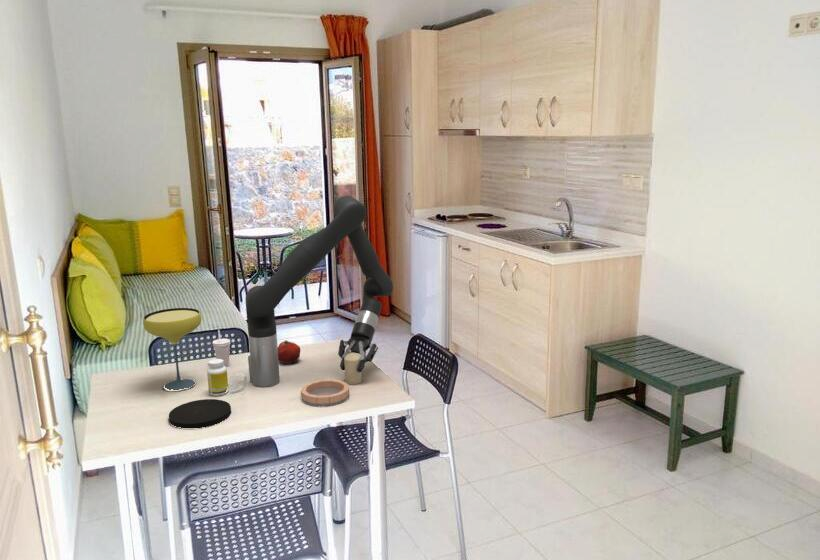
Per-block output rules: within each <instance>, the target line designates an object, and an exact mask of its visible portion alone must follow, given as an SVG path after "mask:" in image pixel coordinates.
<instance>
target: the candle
mask: <svg viewBox="0 0 820 560" xmlns="http://www.w3.org/2000/svg"><path fill="white" fill-rule="evenodd" d="M360 360H361V355H360V354H358V353H350V354H347V355H346V357H345V358H344V364H345V370H344V380H345V381H344V382H345V383H347V384H348V385H352V386H353V385H359V384H360V383H362V372H361V373H360V372H358V371H357V367H358V364H359V361H360Z"/></svg>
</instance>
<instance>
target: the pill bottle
mask: <svg viewBox="0 0 820 560" xmlns="http://www.w3.org/2000/svg"><path fill="white" fill-rule="evenodd" d="M223 365H224V360H223V359H217V358H213V359H210V360H209V361H208V368H207V371H206V376H207V384H208V393H209V395H211V396H212V395H213V397H219V396H220V395H221V396H224V395H226V394H225V392H226V390H227V387H228V388H229V380H228V369H227V368H228V367H225V366H223Z"/></svg>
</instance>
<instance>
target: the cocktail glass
mask: <svg viewBox="0 0 820 560" xmlns="http://www.w3.org/2000/svg"><path fill="white" fill-rule="evenodd" d="M201 322H202V315H201V312H200V310H198V309H196V308H193V307H192V308H191V307H190V308H189V307H175V308H174V307H173V308H166V309H160V310H156V311H152V312H150V313H147V314H146V315H144V317H143V318H142V325H143V329H144V330H145V331H146V332H147V333H148V334H151V335H152V336H154V337H155V336H156V337H159V338H162V339H165V340H167V342H170V344H172V345H173V346H174V356H175V357H174V358H175V366H176V368H175V369H176V379H175V381H174V380H171V381H172V382H171V381H168V382H169V383H168V382H167V384H166V383H165V384H166V385H165V388H167V389H169V390H171V389H173V390H179V389H184V388H189V387H191V386H193V385H194V384H195V382H196V381H195V380H194V381H195V382H194V381H193V379H190V380H189V378H185V379H184V378H181V374H180V368H179V362H178V361H179V360H178V351H177V350H178V349H177V344H178V343H179V342H180V341H181V339H182V338H183V337H184V336H186V335H189V334H190V333H191V332H193V331H195V330H196V329H197V328H198V327H199V326H200V325H201ZM181 379H183V380H181Z"/></svg>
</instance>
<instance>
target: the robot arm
mask: <svg viewBox="0 0 820 560" xmlns="http://www.w3.org/2000/svg"><path fill="white" fill-rule="evenodd" d="M333 214H334V216H335V217H334V218H333V219H332V221H330V222H329V223H328V225H326V226H325V227H324V228H322V229H320V230H319V231H316V232H314V233H313V234H310V235H309V236H307V237H305V238H304V239H303V240H301V241H300V242H299V244H297V245H295V247H294V248H293V249H292V250H291V251H290V252H289V253H288V254H287V256H286V257H285V258H284V260H283V261H282V263H281V264H280V266H279V267H278V269H277V270H276V272H275V273H274V274H273V275H272V277H271V278H269V279H268V280H267V281H266V282H265V283H264V284H262V285H255V286H253V287H251V288H250V289H248V291H247V293H246V295H245V311H246V323H247V332H248V344H249V345H248V346H249V355H248V357H247V363H248V375H249V376H248V377H249V384H252V385H253V386H255V387H259V388H264V387H265V388H266V387H267V388H268V387H271V386H275V385H277V384H279V383H280V379H281V378H280V365H279V364H280V363H279V362H280V361H279V360H278V346H279V345H278V334H277V324H276V322H277V321H276V315H275V312H276V311H275V309H276V308H277V307H278V305H279V304H280V303H281V301H282V300H283V298H285V297H286V296H287V294H288V293H289V292H290V291H291V290H292V289H293V288H294V287H295V286H296V285H297V284H298V283H300V282H301V281H302V280H303V279H304V278H305V277H306V276H308V275H309V273H310V272H311V271H313V270H314V269H315V268H316V267H317V266H318V265H319V264H320V263H321V262H322V261H323V259H324V258H325V257H326V256H328V255H329V254H330V253H331V252H332V250H334V249H335V248H336V247H337V245H338V244H339V243H341V242H342V241H343V240H344V239H345V238H346V237H347V239H348V240H349V243H350V245H351V248H352V250H353V253H354V255H355V257H356V260H357V264H358V265H359V268H360V270H361V272H362V274H363V276H364V277H367V279H366V280H365V282H364V283H363V288H362V289H363V290H362V291H363V296H362V304H361V307H360V309H359V312H358V315H357V316H356V319H355V322H354V325H353V328H352V331H351V334H350V337H349V339H348V340H343V339H340V342H339V347H338V353H337V354H338V356H339V357H340V358H341V359H340V362H339V363H340V364H339V368H340V369H341V370H342V371H345V364H344V358H345V357H346V355H347V354H350V353H356V354H358V355H359V356H360V357H361V360H360V361H359V364H358V367H357V371H358V372H360V373H361V374H362V372H363V371H364V368H365V365H366V363H368V362H369V363H371V362H372V361H373V359H374V357H375V355H376V353H377V352H378V349H379V347H378V345H377V344H376V343H372V341H373V338H374V335H375V332H376V330H377V327H378V321H379V317H380V314H381V311H382V308H383V304H382V302H381V301H380V300H378V299H376V297H378V298H379V297H383V298H384V297H389V296H390V295H392V294H393V290H394V283H393V280H392V279H391V277H390V275H389V274H388V273H387V271H386V270H385V268H383V266H382V265H381V262H380V260H379V258H378V254H377V252H376V250H375V248H374V246H373V244H372V242H371V241H370V239H369V237H368V236H367V234H366V231H365V229H364V227H363V225H362V224H363V222H364V221H365V219H366V217H367V209H366V207H365V205H364V204H363V203H362V202H360V200H358V199H356V198H355V197H353V196H350V195H342V196H340V197H338V198H337V199H336V200H335V202H334V204H333ZM367 351H368V353H367Z"/></svg>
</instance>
